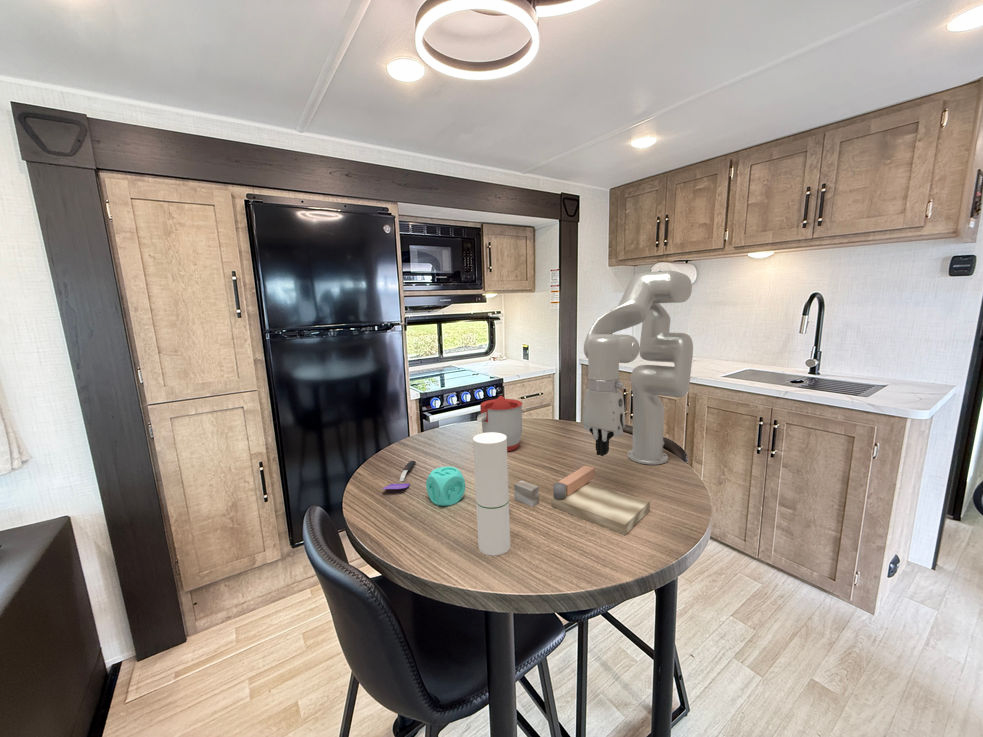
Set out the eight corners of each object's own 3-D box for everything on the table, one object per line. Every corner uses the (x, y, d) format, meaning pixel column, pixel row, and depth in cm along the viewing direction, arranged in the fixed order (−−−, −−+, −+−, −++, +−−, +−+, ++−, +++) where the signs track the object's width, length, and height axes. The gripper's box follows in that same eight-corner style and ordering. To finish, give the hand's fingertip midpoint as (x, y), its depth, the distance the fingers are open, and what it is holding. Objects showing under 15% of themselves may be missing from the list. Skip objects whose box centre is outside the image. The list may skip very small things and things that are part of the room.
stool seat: (551, 478, 119) (551, 464, 118) (649, 510, 98) (649, 493, 98) (514, 499, 107) (514, 484, 106) (618, 541, 86) (618, 522, 85)
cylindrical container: (509, 535, 90) (505, 431, 86) (511, 554, 83) (507, 442, 79) (478, 537, 90) (473, 433, 86) (478, 556, 83) (472, 444, 79)
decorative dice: (426, 499, 109) (424, 472, 108) (450, 489, 114) (448, 463, 113) (442, 509, 103) (440, 481, 102) (466, 499, 108) (465, 472, 107)
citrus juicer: (471, 445, 150) (469, 394, 147) (511, 437, 157) (509, 389, 154) (488, 459, 136) (486, 403, 133) (531, 449, 143) (530, 396, 140)
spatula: (404, 463, 136) (404, 456, 136) (423, 463, 136) (423, 456, 135) (381, 496, 112) (381, 488, 112) (404, 496, 112) (404, 488, 112)
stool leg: (561, 500, 100) (561, 489, 99) (551, 496, 102) (550, 485, 101) (595, 477, 112) (595, 467, 111) (585, 474, 114) (585, 465, 113)
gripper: (638, 386, 97) (636, 456, 100) (584, 380, 107) (584, 444, 110) (624, 391, 92) (622, 465, 94) (569, 384, 102) (569, 451, 104)
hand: (602, 454), depth 102 cm, fingers closed
